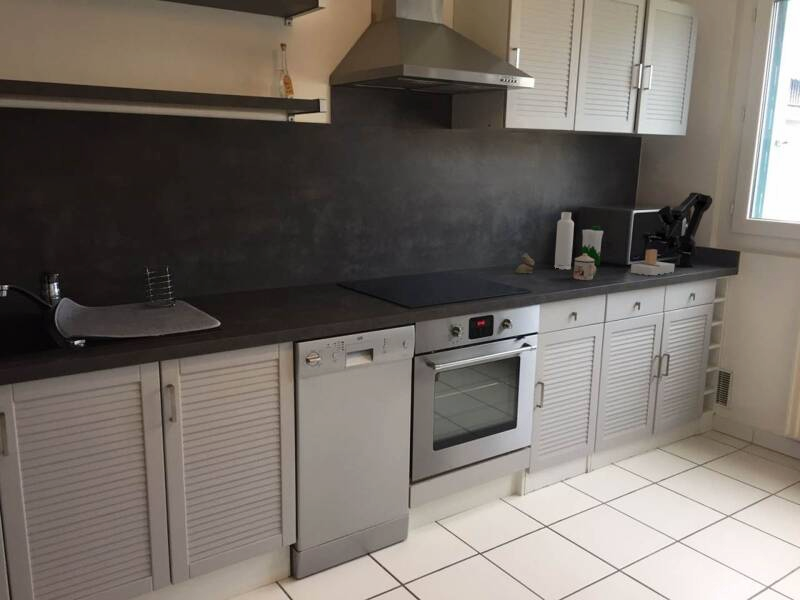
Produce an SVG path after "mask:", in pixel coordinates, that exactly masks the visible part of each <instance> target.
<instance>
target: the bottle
mask: <svg viewBox="0 0 800 600" xmlns="http://www.w3.org/2000/svg"><path fill="white" fill-rule="evenodd" d="M556 224H557V226H556V241H555V253H554V254H555V255H554V256H555V257H554V267H555V268H554V269H556V268H559V269H558V270H564V269H566V270H571V269H572V257H573V256H572V255H573V246H574V245H573V242H574V227H575V223H574V221H573V220H572V212H570V211H562V212H561V216H560V219H559V220H558V221H557V223H556Z"/></svg>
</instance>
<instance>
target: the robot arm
mask: <svg viewBox="0 0 800 600" xmlns="http://www.w3.org/2000/svg"><path fill="white" fill-rule="evenodd" d="M712 204H713V198H712V196H711V195H707V194H703V193H701V192H690V193H689V195H688V196H687V197H686V199H684V200H683V201H682V202H681V203H680V204H679V205H678V206H674V207H673V208H671V206H669V205H665V206H664V207H661V208H660V209H659V210H658V212H657V213H658V216H659V218H660V220H661V222H662V223H664V224H658V223H654V225H653V227H652V229H651V230H652V231H653V232H654V235H655V236H653V234H652V233H648V232H643V234H642V235H641V238H642V240H643V242H644V248H643V252H644V253H646V250H650V248H651V247H652V246H653V244H654V242H659V243H665V245H664V247H663V248H662V250H661V252H660V255H664V254H666V253H668V252H670V251H672V250H674V249H675V250H676V254H677V255H678V254H679V255H678V257H677V263H676V266H678V267H684V268H685V267H686V268H689V267H690V268H691V267H692V268H693V267H694V266H695V265H693V263H694V256H697V254H698V249H697V247H696V239H695V236H696V233H697V231H698V230H699V229H698V228H699V226H700V223H701V221H702V218H703V216H704V213H705V212H707V211H708V210H709V209H710V207H711V206H712ZM692 207H693V211H692V214H691V217H690V219H689V222H688V225H687V227H686V230H685V231H684V234H683V235H679V236H676V235H674V234H673V233H674V232H675V230H678V229H679V224H678V222H683V221H684V220H685V219H686V217H687V213H688V212H689V210H691V209H692Z"/></svg>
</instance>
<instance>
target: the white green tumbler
mask: <svg viewBox="0 0 800 600" xmlns="http://www.w3.org/2000/svg"><path fill="white" fill-rule="evenodd" d="M591 228H592V229H582V231H581V232H582V244H581V245H582V248H581V256H583V254H584V253H585V254H587V256H589V257H590V258H592V259H594V260H595V262H594V265H596V266H600V265H601V251H602V249H601V247H602V238H603V234H604V230H601V226H599V225H593V226H592V227H591Z"/></svg>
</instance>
